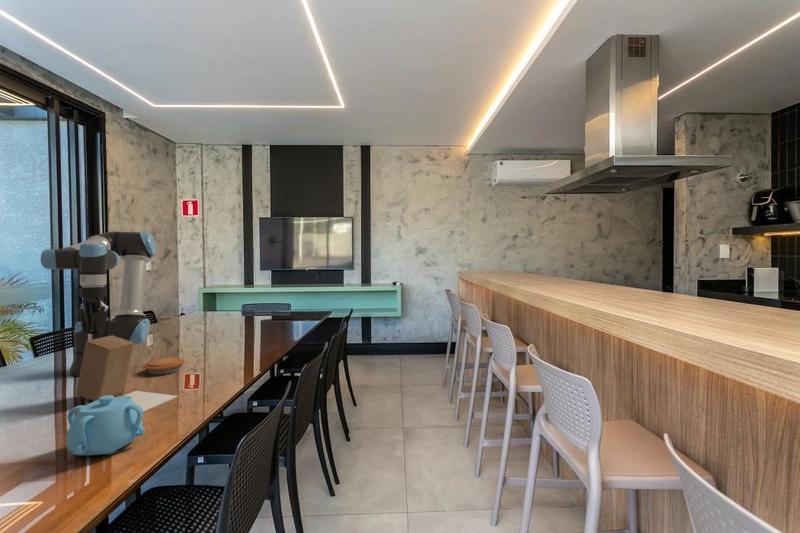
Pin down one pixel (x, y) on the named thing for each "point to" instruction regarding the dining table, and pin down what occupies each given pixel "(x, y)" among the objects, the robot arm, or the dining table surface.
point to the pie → (164, 365)
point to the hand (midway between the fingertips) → (93, 351)
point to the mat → (149, 399)
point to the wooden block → (104, 367)
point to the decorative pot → (104, 426)
